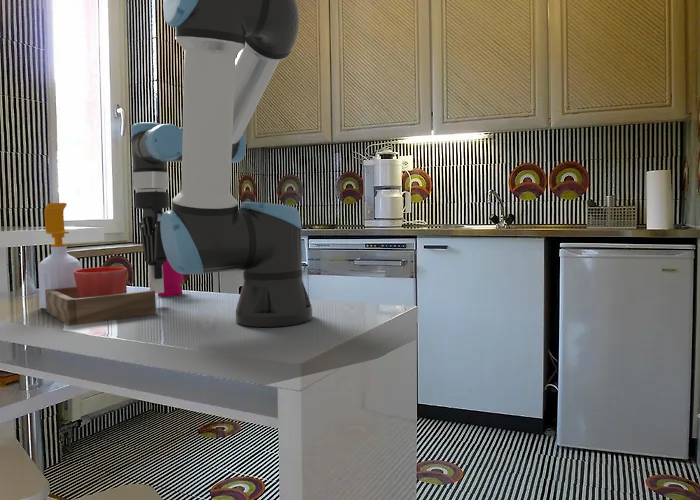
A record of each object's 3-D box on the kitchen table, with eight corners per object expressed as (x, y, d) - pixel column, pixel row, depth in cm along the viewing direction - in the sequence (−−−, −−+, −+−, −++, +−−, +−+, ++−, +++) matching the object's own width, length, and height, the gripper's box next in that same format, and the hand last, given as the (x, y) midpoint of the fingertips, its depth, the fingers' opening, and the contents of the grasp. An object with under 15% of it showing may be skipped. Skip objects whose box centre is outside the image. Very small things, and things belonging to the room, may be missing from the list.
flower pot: (129, 314, 128) (127, 269, 127) (74, 318, 124) (71, 273, 123) (129, 306, 138) (127, 265, 137) (77, 310, 134) (75, 268, 133)
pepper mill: (166, 297, 151) (163, 219, 149) (150, 295, 155) (146, 219, 154) (189, 293, 157) (186, 218, 155) (173, 291, 161) (169, 218, 159)
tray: (156, 313, 128) (155, 290, 127) (69, 325, 117) (67, 300, 117) (125, 302, 144) (124, 282, 144) (46, 311, 134) (45, 289, 133)
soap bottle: (45, 311, 134) (39, 203, 132) (37, 306, 141) (30, 203, 140) (87, 306, 140) (81, 202, 138) (77, 302, 147) (71, 203, 145)
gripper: (178, 189, 134) (183, 293, 135) (157, 192, 144) (162, 289, 145) (145, 189, 129) (151, 297, 130) (126, 193, 139) (131, 292, 141)
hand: (157, 292), depth 138 cm, fingers closed
